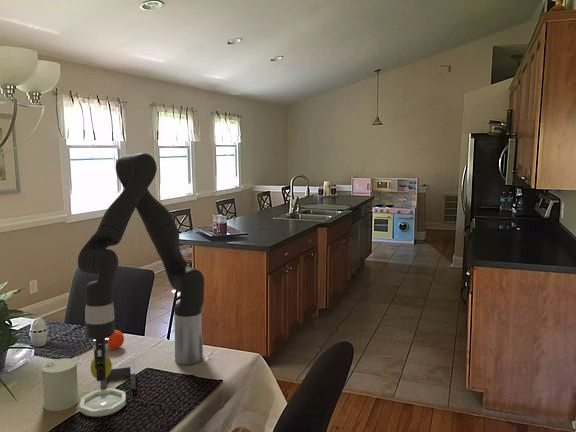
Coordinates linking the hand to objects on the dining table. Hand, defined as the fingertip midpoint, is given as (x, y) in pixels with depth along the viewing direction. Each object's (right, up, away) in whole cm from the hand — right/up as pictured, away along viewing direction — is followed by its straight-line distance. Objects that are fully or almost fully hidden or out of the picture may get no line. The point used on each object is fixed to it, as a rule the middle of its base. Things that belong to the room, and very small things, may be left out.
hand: (101, 375), depth 134 cm
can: (-12, -9, +2) cm, 15 cm away
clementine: (-12, -4, +40) cm, 42 cm away
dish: (0, -9, +1) cm, 9 cm away
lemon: (0, -2, 0) cm, 2 cm away
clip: (0, -7, +14) cm, 16 cm away
